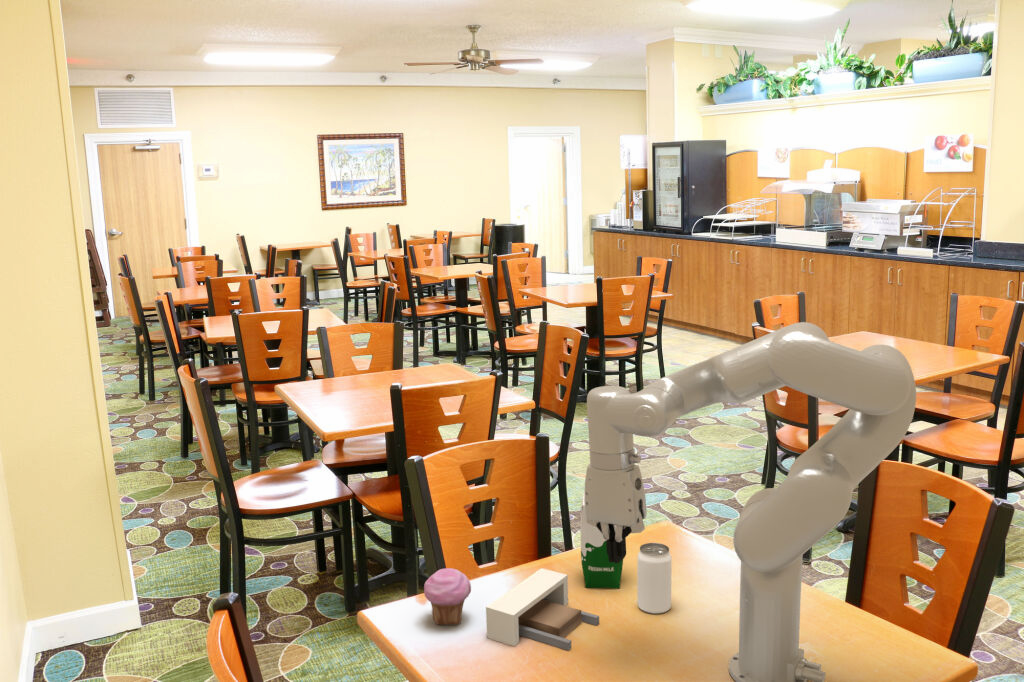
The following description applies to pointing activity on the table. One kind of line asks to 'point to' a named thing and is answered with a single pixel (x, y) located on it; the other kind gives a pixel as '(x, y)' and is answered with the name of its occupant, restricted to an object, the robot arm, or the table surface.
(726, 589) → the table surface
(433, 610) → the cupcake
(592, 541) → the milk carton
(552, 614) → the walnut tile
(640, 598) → the can
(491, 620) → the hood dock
